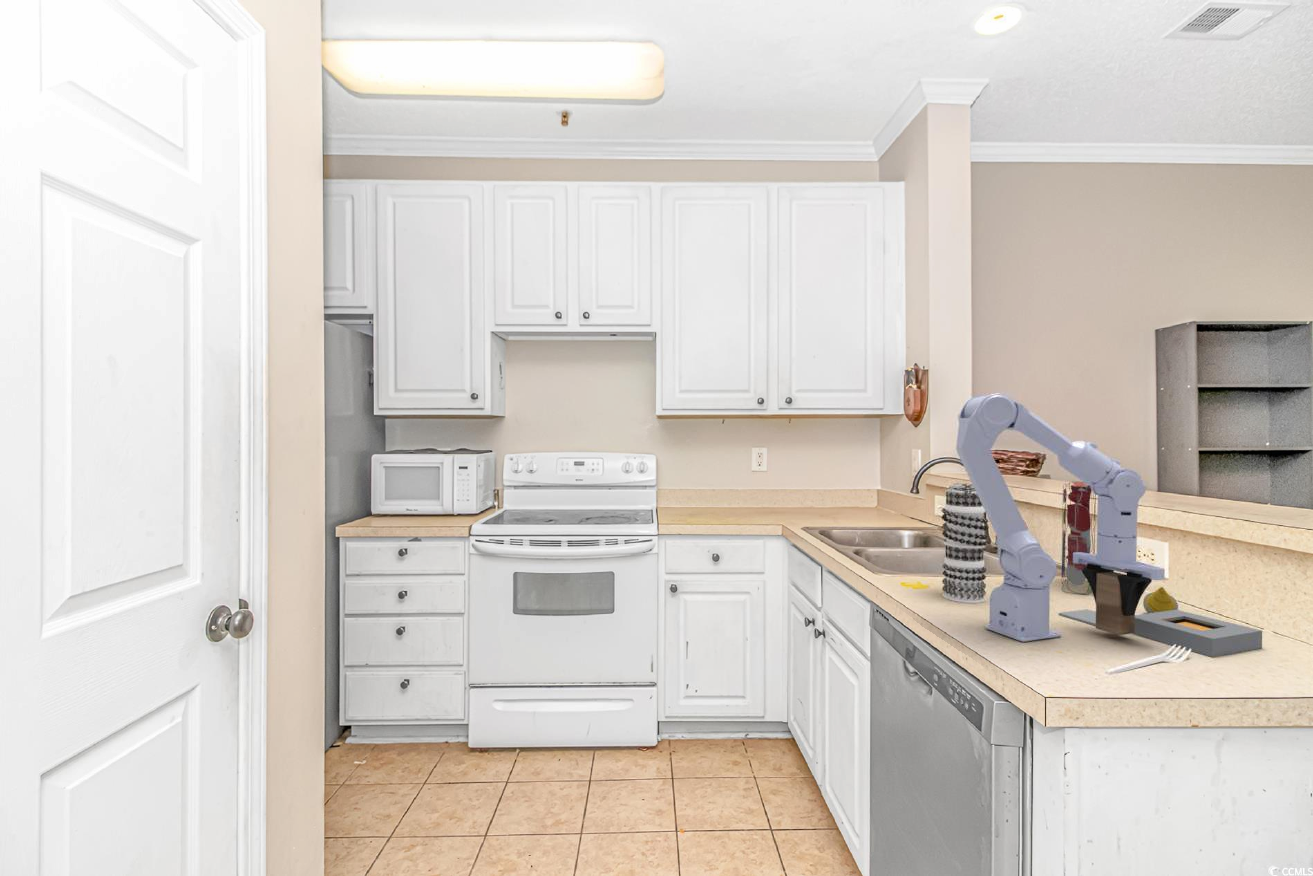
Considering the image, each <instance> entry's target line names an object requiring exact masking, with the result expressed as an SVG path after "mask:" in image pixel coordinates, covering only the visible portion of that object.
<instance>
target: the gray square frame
mask: <svg viewBox="0 0 1313 876" xmlns="http://www.w3.org/2000/svg"><path fill="white" fill-rule="evenodd" d="M1182 622H1188V623H1191V624H1195V625H1199V626H1203V627H1207V628H1211V629H1210V630H1204V631H1202V630H1198V629H1194V628H1190V627H1187V626H1183V625H1179V624H1175V623H1182ZM1131 634H1132V635H1136V636H1139V637H1143V638H1147V639H1150V640H1153V641H1156V642H1161V643H1162V644H1163V643H1164V644H1167V645H1168V646H1169V645H1170V646H1173V645H1175V644H1176V646H1175V648H1178V646H1181V647H1180V649H1183V648H1184V647H1186V649H1185V650H1187V651H1189V649H1191V652H1194V653H1196V654H1200V655H1204V656H1207V657H1210V658H1215V657H1221V656H1228V655H1232V654H1239V653H1243V652H1249V651H1253V650H1259V649H1263V630H1261V629H1259V628H1258V629H1257V628H1252V627H1249V626H1245V625H1241V624H1238V623H1237V624H1236V623H1233V622H1229V621H1225V620H1220V619H1216V618H1212V617H1209V616H1204V615H1201V614H1197V613H1196V614H1195V613H1192V612H1188V611H1184V610H1180V609H1178V610H1170V611H1162V612H1155V613H1148V612H1147V613H1141V614H1135V630H1134V633H1131Z"/></svg>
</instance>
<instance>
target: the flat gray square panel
mask: <svg viewBox="0 0 1313 876" xmlns="http://www.w3.org/2000/svg"><path fill="white" fill-rule="evenodd" d="M1058 616H1062V617H1065V618H1067V619H1070V620H1071V619H1072V620H1074V621H1077V622H1082V623H1084V624H1087V625H1091V626H1095V627H1096V610H1092V609H1088V608H1086V609H1078V610H1070V611H1064V612H1062V611H1061V612H1059V613H1058Z"/></svg>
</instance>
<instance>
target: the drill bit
mask: <svg viewBox="0 0 1313 876" xmlns="http://www.w3.org/2000/svg"><path fill="white" fill-rule="evenodd" d="M1142 605H1143V608H1144V611H1146V613H1147V614H1148V613H1155V612H1162V611H1170V610H1179V603H1178V602H1177V600H1176V599H1175V598H1174V597H1173V596H1172V595H1170V594H1169V593H1168V592H1167V591H1166V590H1165V588H1164V586H1160V587H1159V588H1158V589H1156V590H1155V591H1153V592H1148V593H1147V594H1145V596H1144V597H1143V604H1142Z"/></svg>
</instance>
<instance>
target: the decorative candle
mask: <svg viewBox="0 0 1313 876" xmlns="http://www.w3.org/2000/svg"><path fill="white" fill-rule="evenodd" d="M945 492H946V493H945V501H946V502H945V504H944V507H943V508H942V509H941V513H943V514H942V516H941V519H942V520H943V521H944V522H945V523H942V527H941V528H942V529H943V531H942V533H941V534H942V536H943V537H944V538H945V539H943V542H942V543H943V544H944V545H945V549H944V550H945V553H944V554H945V556H944V563H943V565H942V568H943V569H944V570H943V571H942V575H943V576H945V577H944V578H943V579H942V580H941V582H942V584H943V586H942V588H941V590H942V591H943V593H942V597H943V598H944V599H947V600H950V601H953V602H958V603H966V604H981V603H984V602H986V597H985V596H986V594H987V592H986V590H985V589H986V587H987V584H986V582H984V580H986V578H987V576H986V575H985V574H984V573H986V571H987V568H986V567H985V559H984V548H987V543H986V542H985V540H987V539H988V536H987V535H986V534H984V531H988V529H989V528H988V526H986V524H987V523H989V519H987V518H986V517H984V515H985V514H986V512H985V510H984V508H983V505H982V503H981V501H980V499H979V497H978V495H977V493H976V491H975V489H974V486H973V484H972V483H961V482H960V483H958V482H957V483H952V484H951V485H950V486H949V487H948V489H945Z"/></svg>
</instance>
